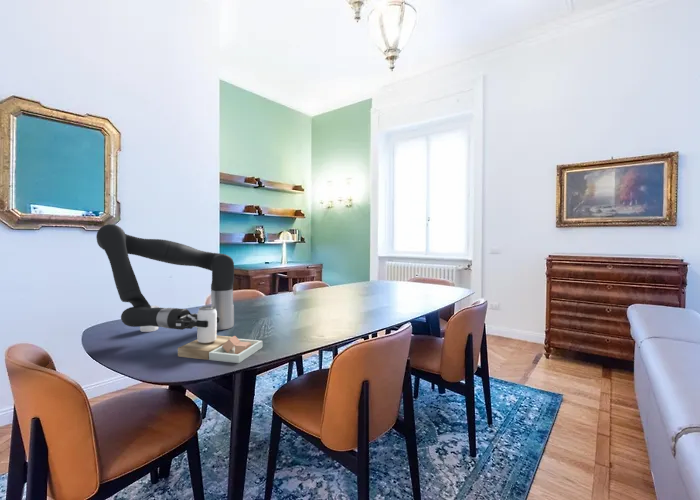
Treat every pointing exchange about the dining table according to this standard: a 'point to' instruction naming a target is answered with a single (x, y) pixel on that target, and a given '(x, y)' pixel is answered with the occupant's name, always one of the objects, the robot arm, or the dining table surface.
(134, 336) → the dining table surface
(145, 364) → the dining table surface
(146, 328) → the white cup
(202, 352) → the board
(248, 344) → the tile
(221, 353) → the tray
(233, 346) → the tile
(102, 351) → the dining table surface
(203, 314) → the can
